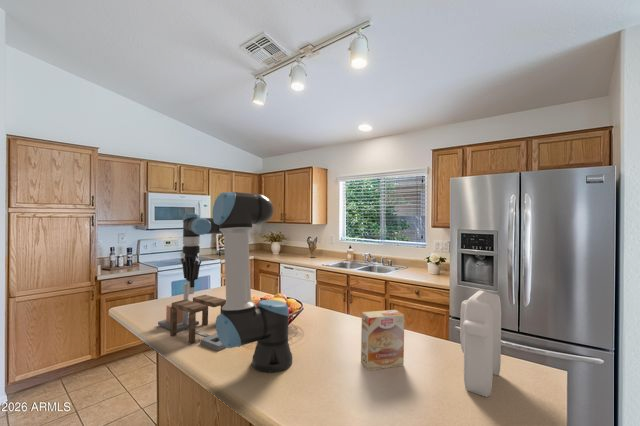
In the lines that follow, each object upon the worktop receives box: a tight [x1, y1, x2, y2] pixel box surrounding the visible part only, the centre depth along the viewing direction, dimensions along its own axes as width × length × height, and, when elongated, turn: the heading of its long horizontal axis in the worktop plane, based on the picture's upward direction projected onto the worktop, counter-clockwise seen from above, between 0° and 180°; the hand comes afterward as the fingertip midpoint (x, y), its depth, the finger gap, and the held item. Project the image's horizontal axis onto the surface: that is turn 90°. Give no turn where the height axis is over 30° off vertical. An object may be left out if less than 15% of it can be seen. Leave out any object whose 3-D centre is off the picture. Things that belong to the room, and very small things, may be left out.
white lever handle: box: [157, 282, 200, 332], centre depth 154 cm, size 16×12×21 cm
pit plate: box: [200, 332, 227, 352], centre depth 136 cm, size 12×14×2 cm
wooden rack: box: [169, 294, 226, 345], centre depth 150 cm, size 36×19×15 cm, turn 57°
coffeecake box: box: [360, 309, 405, 371], centre depth 117 cm, size 15×7×20 cm, turn 105°
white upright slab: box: [459, 289, 503, 398], centre depth 107 cm, size 27×11×30 cm, turn 141°
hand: (190, 293), depth 149 cm, fingers closed
